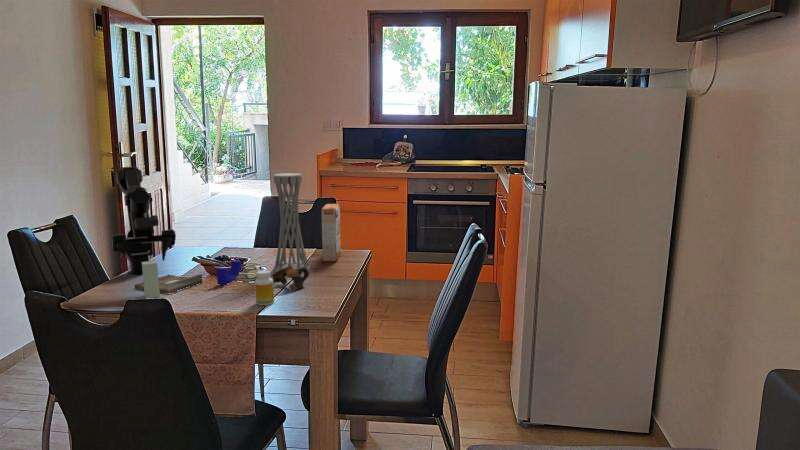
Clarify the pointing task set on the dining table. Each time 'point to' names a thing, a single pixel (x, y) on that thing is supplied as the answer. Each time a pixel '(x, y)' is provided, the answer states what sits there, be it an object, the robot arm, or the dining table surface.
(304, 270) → the pottery mug
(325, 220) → the cracker box
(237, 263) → the blue notched block
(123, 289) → the dining table surface
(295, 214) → the vase
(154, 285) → the sage block
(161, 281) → the walnut board
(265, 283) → the supplement bottle
